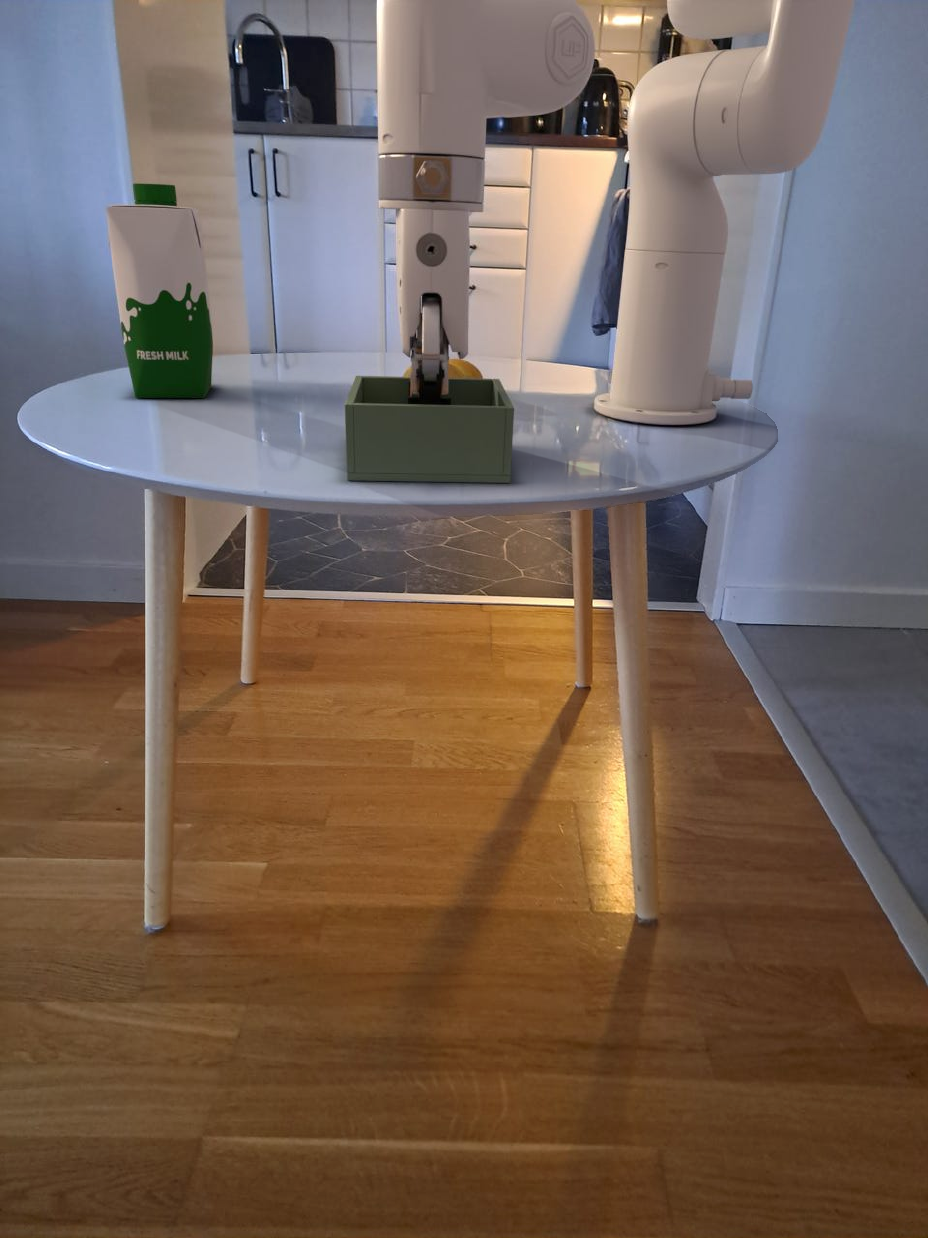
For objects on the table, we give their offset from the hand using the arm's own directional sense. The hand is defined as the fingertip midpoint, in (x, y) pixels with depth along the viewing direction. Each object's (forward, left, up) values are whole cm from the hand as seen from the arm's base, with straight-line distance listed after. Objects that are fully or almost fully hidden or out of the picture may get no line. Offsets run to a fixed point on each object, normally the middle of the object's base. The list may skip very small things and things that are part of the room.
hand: (428, 437), depth 67 cm
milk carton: (+27, -27, -2) cm, 38 cm away
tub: (0, 0, -2) cm, 2 cm away
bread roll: (-2, -29, -2) cm, 29 cm away
